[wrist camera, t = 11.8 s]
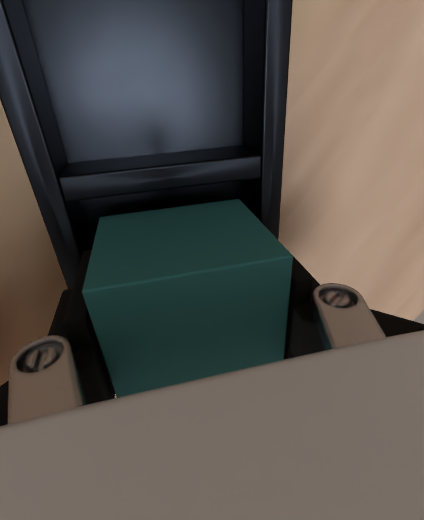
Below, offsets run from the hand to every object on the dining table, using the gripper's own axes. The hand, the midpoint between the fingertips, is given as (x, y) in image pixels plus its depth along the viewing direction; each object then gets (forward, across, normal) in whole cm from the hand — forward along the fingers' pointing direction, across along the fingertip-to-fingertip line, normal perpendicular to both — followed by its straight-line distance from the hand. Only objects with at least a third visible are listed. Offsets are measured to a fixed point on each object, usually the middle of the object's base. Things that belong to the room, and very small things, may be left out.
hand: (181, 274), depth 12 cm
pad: (+1, 0, 0) cm, 1 cm away
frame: (+3, 0, -4) cm, 5 cm away
